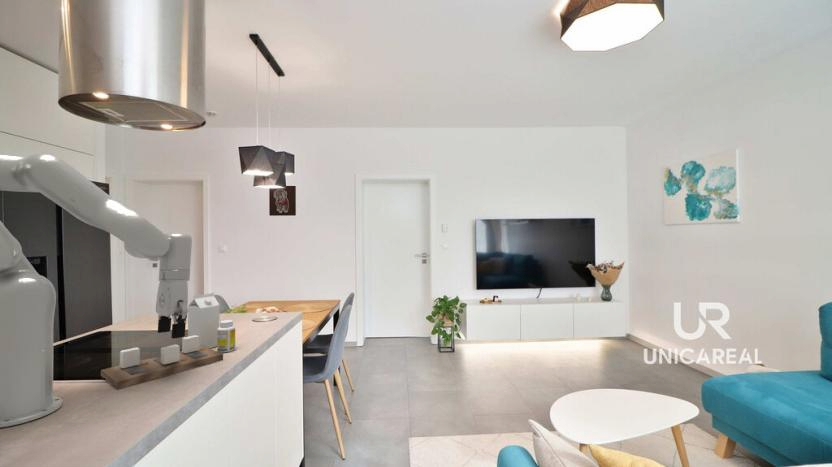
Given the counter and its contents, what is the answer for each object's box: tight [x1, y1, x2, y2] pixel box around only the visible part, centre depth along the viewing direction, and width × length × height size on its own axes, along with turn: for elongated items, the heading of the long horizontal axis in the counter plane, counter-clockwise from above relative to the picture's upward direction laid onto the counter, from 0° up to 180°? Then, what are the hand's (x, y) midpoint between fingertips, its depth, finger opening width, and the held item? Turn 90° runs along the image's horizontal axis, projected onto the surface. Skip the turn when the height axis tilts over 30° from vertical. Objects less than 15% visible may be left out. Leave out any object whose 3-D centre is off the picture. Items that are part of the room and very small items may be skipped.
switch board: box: [100, 346, 224, 390], centre depth 107 cm, size 27×14×2 cm, turn 145°
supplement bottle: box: [216, 319, 236, 353], centre depth 124 cm, size 6×6×10 cm
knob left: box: [119, 346, 141, 368], centre depth 103 cm, size 4×2×4 cm, turn 145°
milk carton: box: [187, 292, 220, 349], centre depth 127 cm, size 7×7×19 cm
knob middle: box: [160, 344, 181, 365], centre depth 106 cm, size 4×2×4 cm, turn 145°
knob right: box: [181, 335, 199, 353], centre depth 116 cm, size 4×2×4 cm, turn 145°
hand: (170, 334), depth 103 cm, fingers open, 9 cm apart
